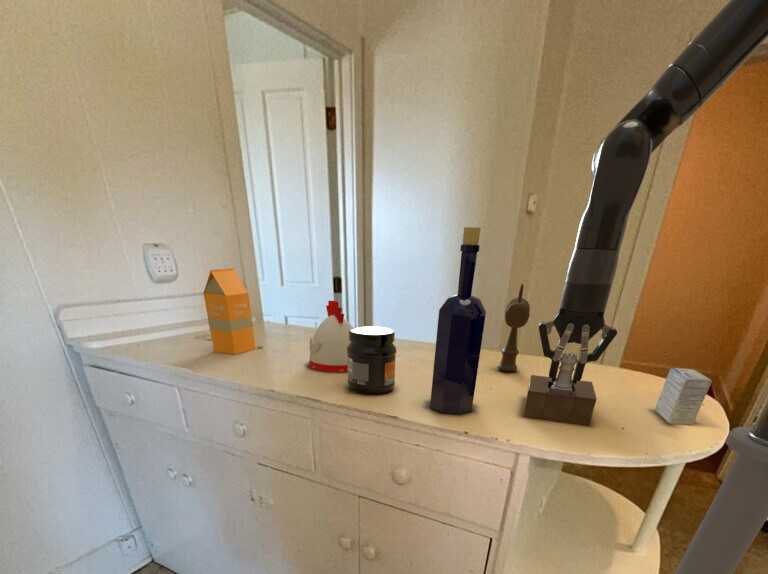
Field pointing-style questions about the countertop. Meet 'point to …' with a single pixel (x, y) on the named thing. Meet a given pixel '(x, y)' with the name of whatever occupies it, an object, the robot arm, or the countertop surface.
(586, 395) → the socket block
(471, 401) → the bottle
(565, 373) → the rook chess piece
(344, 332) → the kitchen timer
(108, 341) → the countertop surface
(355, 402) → the countertop surface
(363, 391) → the supplement container
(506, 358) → the kendama
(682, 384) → the medicine box
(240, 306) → the orange juice
